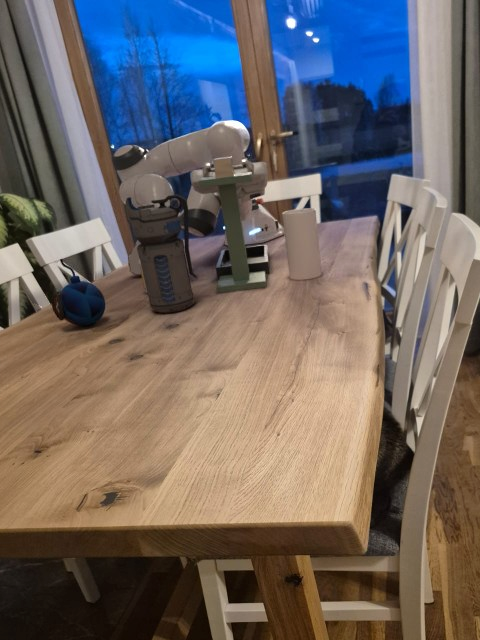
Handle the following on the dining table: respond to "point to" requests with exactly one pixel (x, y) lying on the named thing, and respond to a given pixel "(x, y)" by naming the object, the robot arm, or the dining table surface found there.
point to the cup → (302, 243)
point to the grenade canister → (163, 252)
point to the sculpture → (134, 260)
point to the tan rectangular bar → (223, 167)
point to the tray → (255, 257)
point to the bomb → (78, 302)
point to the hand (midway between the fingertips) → (226, 163)
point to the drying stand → (234, 235)
